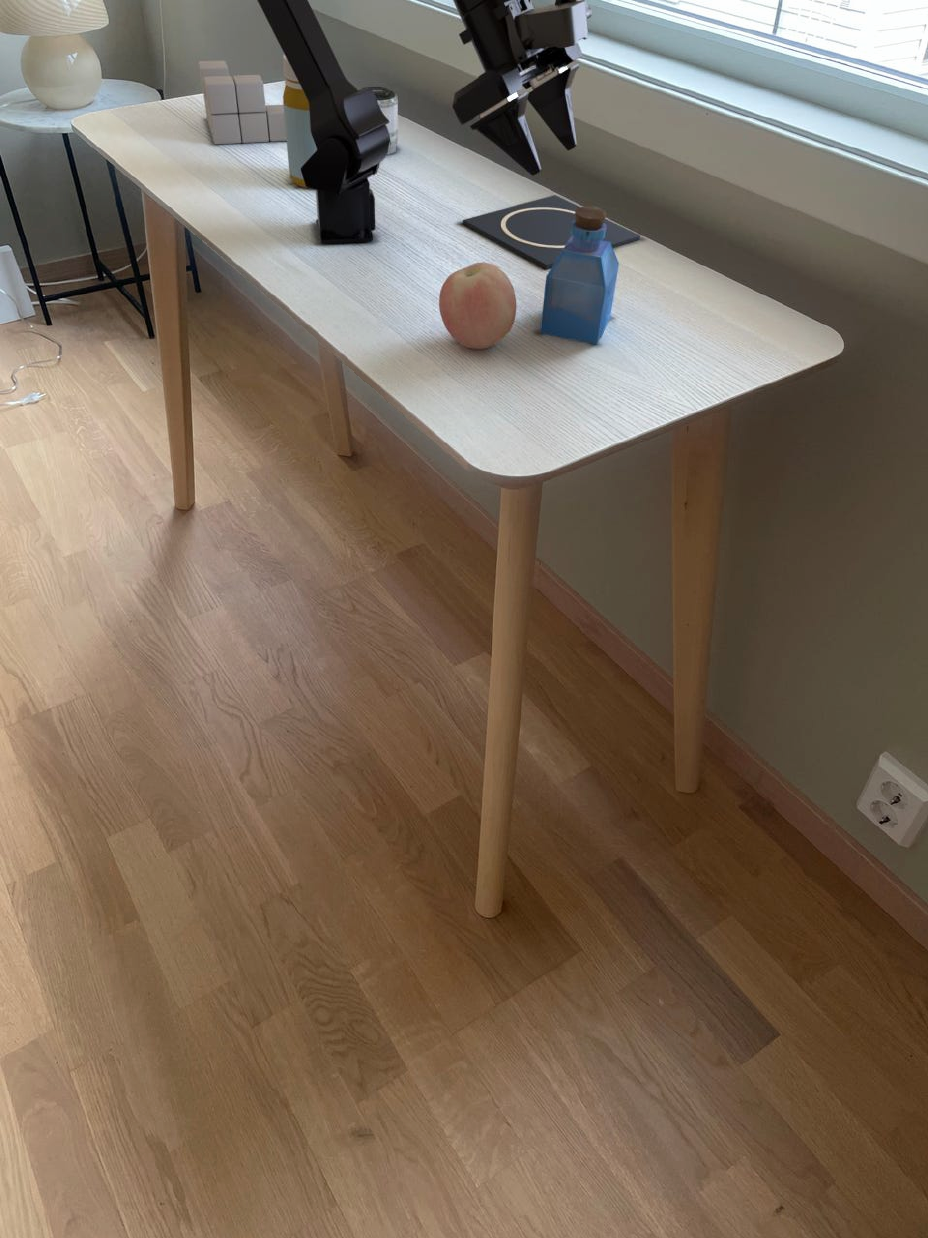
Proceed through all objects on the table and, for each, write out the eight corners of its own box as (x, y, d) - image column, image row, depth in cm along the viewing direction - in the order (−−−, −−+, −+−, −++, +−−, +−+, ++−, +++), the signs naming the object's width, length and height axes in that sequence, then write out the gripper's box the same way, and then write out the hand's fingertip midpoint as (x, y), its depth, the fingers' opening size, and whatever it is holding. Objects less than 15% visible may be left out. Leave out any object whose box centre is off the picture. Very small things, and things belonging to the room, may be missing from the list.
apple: (475, 318, 100) (479, 244, 94) (528, 344, 96) (536, 269, 91) (423, 341, 96) (424, 266, 90) (476, 369, 92) (481, 292, 86)
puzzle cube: (296, 140, 138) (291, 80, 132) (214, 144, 135) (206, 84, 130) (284, 115, 146) (279, 58, 140) (206, 118, 143) (198, 60, 138)
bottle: (280, 184, 125) (268, 58, 115) (306, 168, 130) (296, 45, 119) (326, 193, 123) (318, 66, 113) (350, 176, 128) (345, 53, 118)
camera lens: (400, 156, 135) (400, 96, 129) (357, 156, 134) (355, 96, 128) (395, 141, 139) (395, 83, 134) (353, 142, 138) (351, 83, 133)
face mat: (545, 268, 109) (546, 263, 109) (462, 223, 118) (462, 218, 118) (639, 239, 117) (640, 234, 116) (554, 198, 126) (555, 193, 125)
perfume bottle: (609, 318, 101) (628, 206, 93) (596, 344, 97) (614, 229, 88) (555, 308, 102) (568, 196, 94) (540, 332, 98) (552, 218, 90)
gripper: (510, -30, 79) (585, 151, 85) (592, -59, 91) (653, 101, 97) (417, 38, 86) (492, 200, 93) (504, 3, 98) (566, 148, 105)
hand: (555, 160), depth 97 cm, fingers open, 9 cm apart
